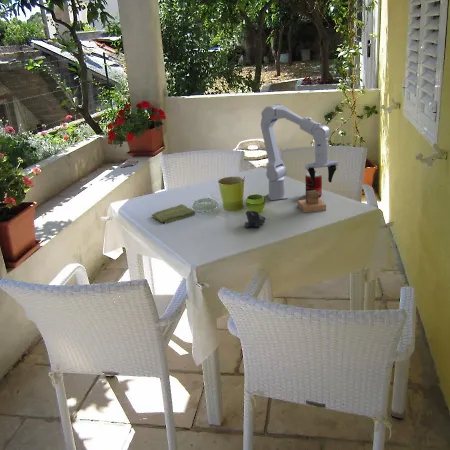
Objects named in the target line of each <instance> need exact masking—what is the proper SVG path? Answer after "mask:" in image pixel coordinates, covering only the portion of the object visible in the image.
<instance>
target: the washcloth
mask: <svg viewBox="0 0 450 450" xmlns="http://www.w3.org/2000/svg"><path fill="white" fill-rule="evenodd" d="M192 215H193V216H194V215H196V210H194V209H191V208H190V207H188V206H186V205H185V204H178V205H177V206H172V207H169V208H166V209H163V210H160V211H155V212H154V213H153V214H151V217H152V216H153V217H154V219H157V220H156V221H159V222H161V223H164V222H165V223H167V224H170V223H173V222H172V221H174V222H176V220H177V221H180V220H184V219H187V218H190V217H193V216H192ZM189 216H190V217H189ZM153 217H152V218H153ZM186 217H187V218H186ZM179 219H180V220H179ZM169 222H170V223H169ZM165 223H164V224H165Z"/></svg>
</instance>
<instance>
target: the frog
mask: <svg viewBox="0 0 450 450" xmlns="http://www.w3.org/2000/svg"><path fill="white" fill-rule="evenodd" d="M245 215H246V219H247V221H245V222H244V228H246V229H248V228H250V227H252V228H255V227H256V228H258V227H262V226H263V225H264V223H266V221H265V220H266V219H267V218H266V217H265V216H263V215H261V214H260V213H259V212H258V211H256V210H247V211H246V212H245Z"/></svg>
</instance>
